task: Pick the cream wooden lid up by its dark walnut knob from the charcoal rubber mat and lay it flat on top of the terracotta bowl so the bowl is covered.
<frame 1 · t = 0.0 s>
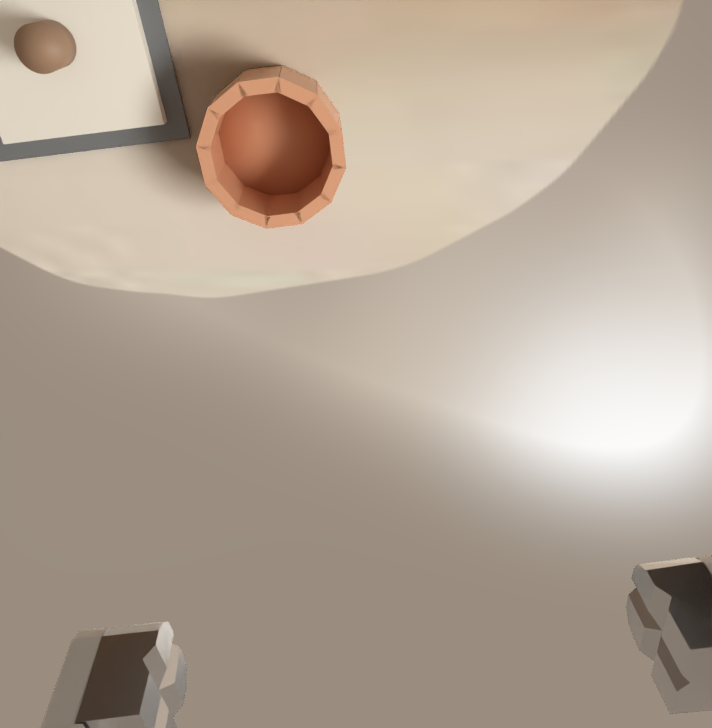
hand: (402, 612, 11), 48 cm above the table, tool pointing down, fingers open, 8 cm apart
bowl: (275, 138, 53), on the table
lid: (59, 42, 47), resting on mat
mat: (61, 41, 48), on the table
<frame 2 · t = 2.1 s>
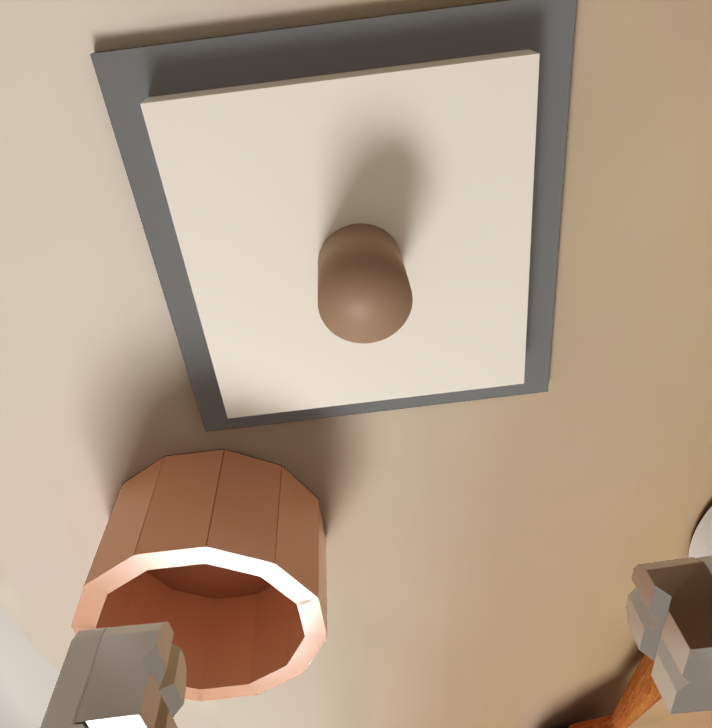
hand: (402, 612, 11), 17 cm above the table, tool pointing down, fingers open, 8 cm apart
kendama: (605, 681, 44), on the table
bowl: (219, 530, 33), on the table
lid: (358, 251, 25), resting on mat
mat: (357, 247, 25), on the table
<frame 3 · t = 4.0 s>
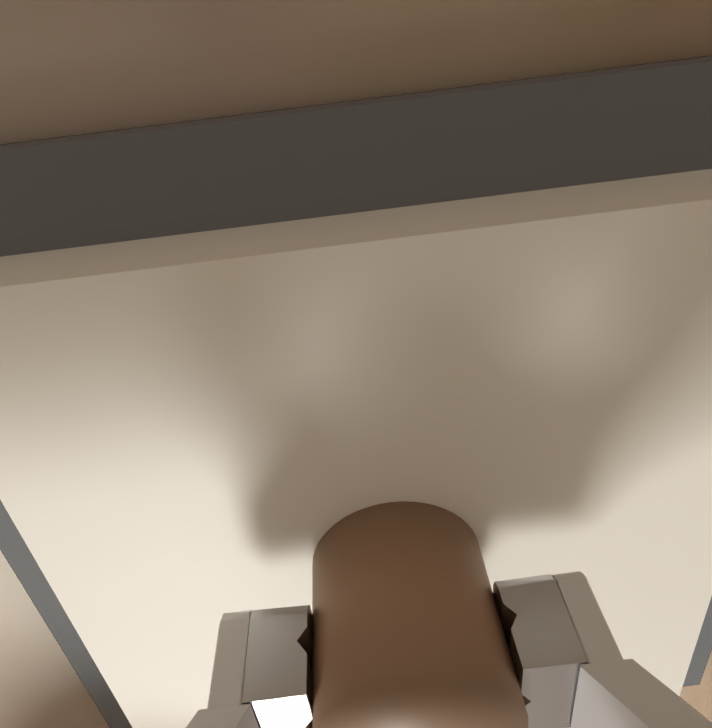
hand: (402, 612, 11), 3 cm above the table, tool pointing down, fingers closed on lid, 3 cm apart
lid: (389, 515, 13), resting on mat, touching gripper
mat: (387, 501, 13), on the table
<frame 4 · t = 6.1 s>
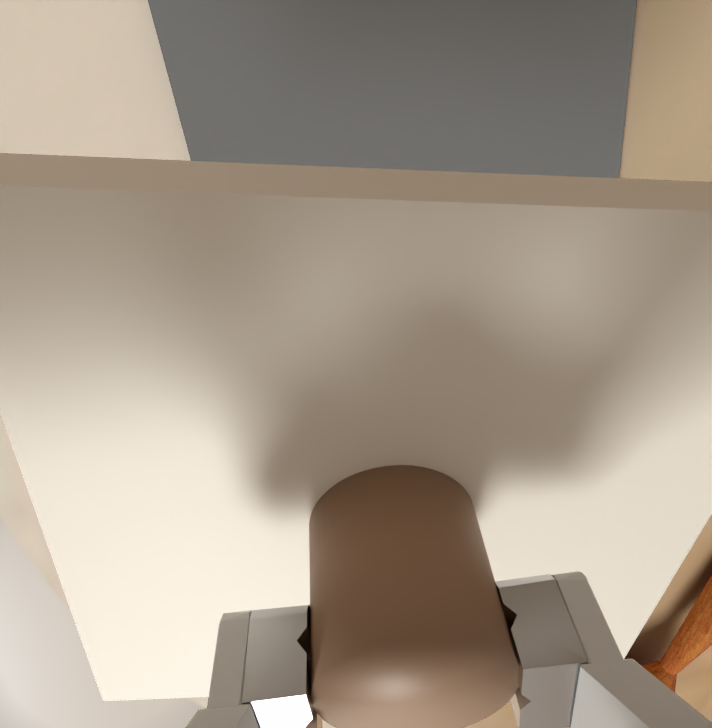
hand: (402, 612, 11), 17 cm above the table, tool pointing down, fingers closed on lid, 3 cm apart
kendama: (652, 627, 42), on the table
lid: (385, 477, 13), point 14 cm above the table, touching gripper
mat: (406, 127, 23), on the table
when the fingers open (10 cm above the table, at t = 8.5 s): lid stays where it is, resting on bowl.
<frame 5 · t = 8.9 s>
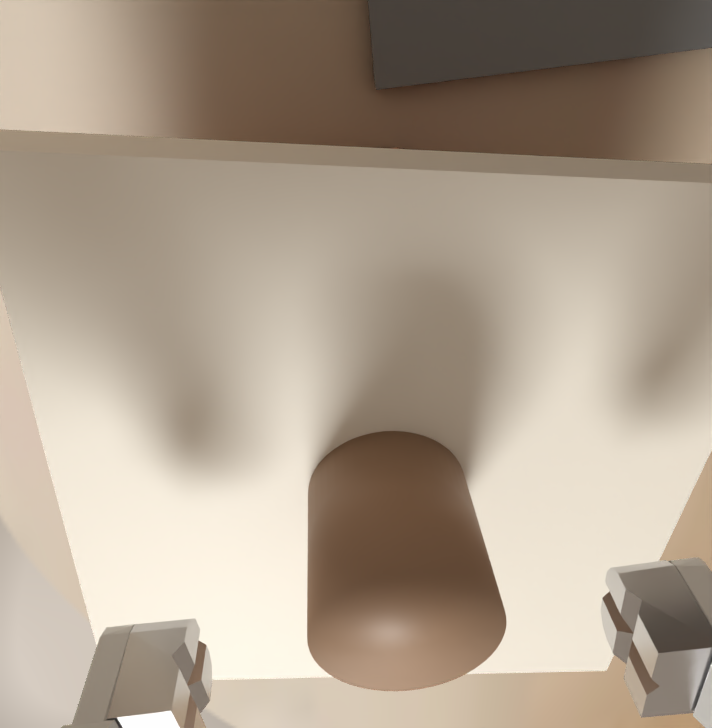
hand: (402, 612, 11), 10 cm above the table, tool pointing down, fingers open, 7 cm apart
lid: (381, 453, 14), point 6 cm above the table, touching bowl
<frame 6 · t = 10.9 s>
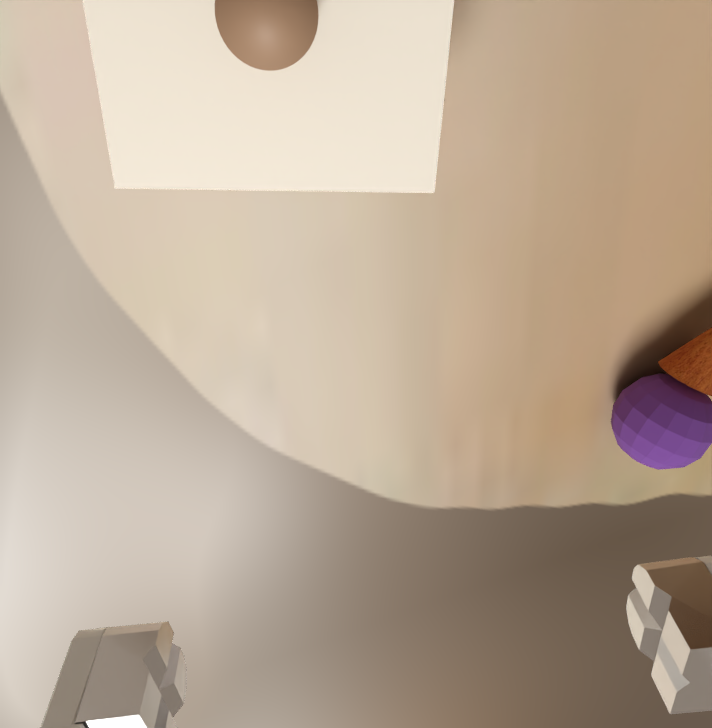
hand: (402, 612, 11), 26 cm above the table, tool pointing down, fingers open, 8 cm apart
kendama: (704, 304, 39), on the table
lid: (273, 6, 23), point 6 cm above the table, touching bowl
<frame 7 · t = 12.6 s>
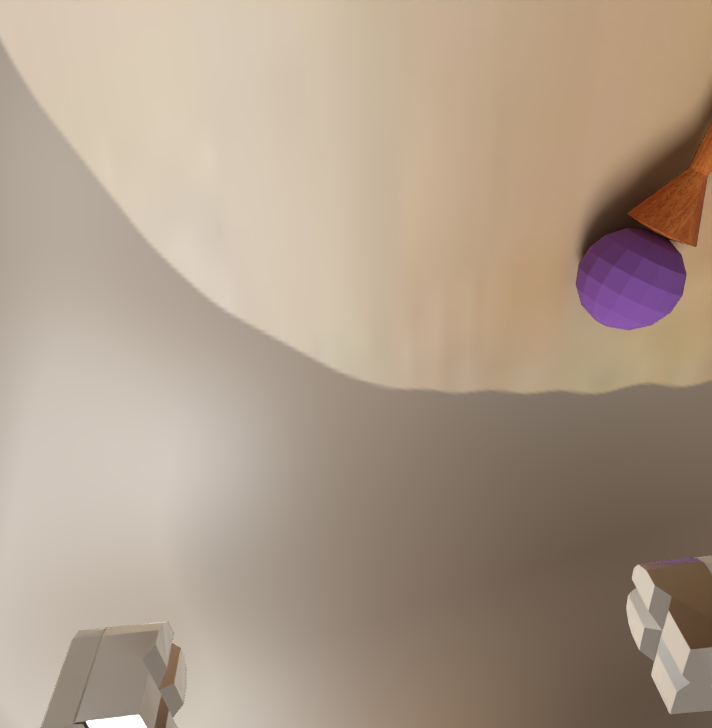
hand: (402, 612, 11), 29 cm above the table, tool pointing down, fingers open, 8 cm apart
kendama: (678, 154, 37), on the table
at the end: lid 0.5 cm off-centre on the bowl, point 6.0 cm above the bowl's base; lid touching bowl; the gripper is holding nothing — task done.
